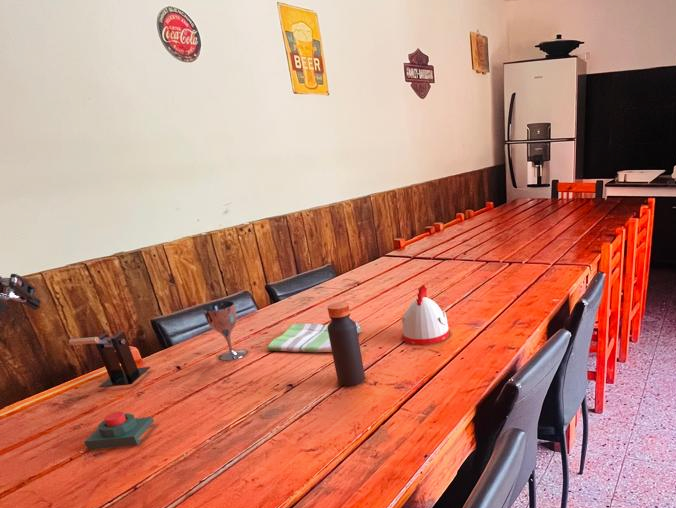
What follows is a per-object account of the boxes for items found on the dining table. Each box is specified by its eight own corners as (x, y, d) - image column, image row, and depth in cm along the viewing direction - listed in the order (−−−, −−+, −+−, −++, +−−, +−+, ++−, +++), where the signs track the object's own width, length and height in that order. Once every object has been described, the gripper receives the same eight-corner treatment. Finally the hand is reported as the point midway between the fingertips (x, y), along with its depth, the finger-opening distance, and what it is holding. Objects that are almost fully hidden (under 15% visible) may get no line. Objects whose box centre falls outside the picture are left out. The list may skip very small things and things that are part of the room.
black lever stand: (133, 387, 132) (114, 342, 126) (100, 390, 131) (80, 345, 126) (151, 370, 141) (135, 327, 135) (121, 373, 140) (103, 330, 135)
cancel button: (103, 428, 107) (100, 421, 106) (112, 419, 110) (109, 412, 109) (121, 426, 107) (118, 419, 106) (129, 417, 110) (127, 410, 110)
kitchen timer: (453, 327, 158) (449, 280, 152) (442, 345, 146) (438, 294, 140) (410, 326, 161) (404, 280, 154) (396, 344, 149) (389, 294, 142)
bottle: (351, 372, 133) (337, 299, 124) (371, 377, 130) (358, 302, 121) (332, 383, 128) (316, 308, 119) (352, 389, 125) (338, 312, 116)
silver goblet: (252, 354, 148) (238, 304, 141) (224, 363, 143) (209, 312, 136) (240, 347, 153) (226, 299, 146) (213, 356, 148) (198, 307, 141)
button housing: (87, 450, 106) (80, 434, 105) (108, 429, 113) (102, 414, 112) (137, 445, 107) (131, 429, 105) (155, 425, 114) (149, 409, 112)
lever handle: (96, 344, 121) (94, 334, 121) (69, 347, 120) (68, 336, 120) (127, 346, 133) (126, 337, 133) (103, 348, 132) (102, 339, 132)
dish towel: (340, 354, 144) (338, 342, 143) (266, 352, 148) (263, 341, 147) (363, 331, 159) (361, 320, 158) (295, 330, 163) (292, 319, 162)
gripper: (-10, 242, 90) (61, 287, 106) (-98, 248, 89) (-13, 293, 104) (-18, 279, 87) (55, 320, 103) (-109, 286, 86) (-21, 327, 102)
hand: (20, 306), depth 104 cm, fingers open, 6 cm apart
